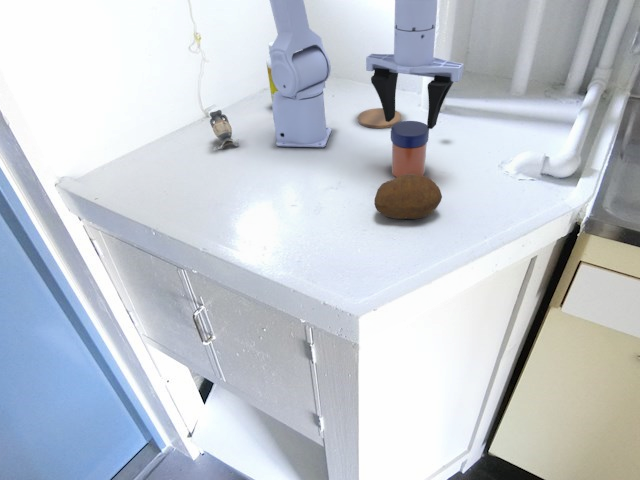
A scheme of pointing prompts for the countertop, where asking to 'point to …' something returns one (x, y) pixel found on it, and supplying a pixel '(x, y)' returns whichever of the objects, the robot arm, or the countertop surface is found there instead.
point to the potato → (408, 197)
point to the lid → (409, 134)
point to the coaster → (377, 118)
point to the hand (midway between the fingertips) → (410, 122)
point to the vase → (222, 129)
